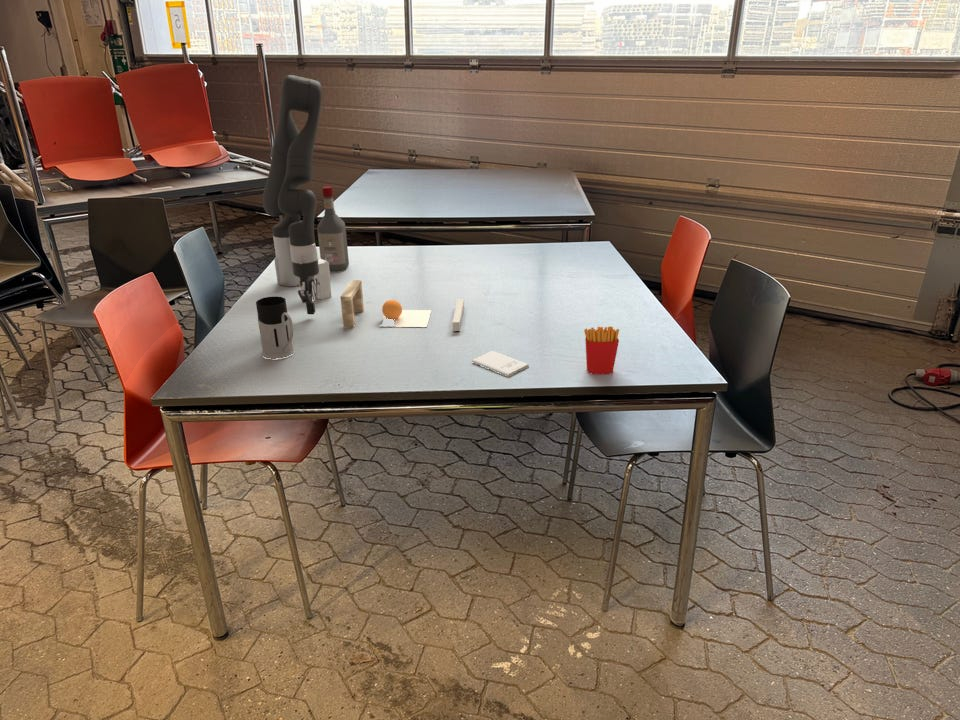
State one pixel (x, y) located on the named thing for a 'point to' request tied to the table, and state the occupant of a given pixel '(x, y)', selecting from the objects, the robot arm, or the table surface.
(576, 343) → the table surface
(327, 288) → the skincare box
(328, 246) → the liquor
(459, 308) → the wall
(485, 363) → the external hard drive
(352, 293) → the bridge
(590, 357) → the french fries
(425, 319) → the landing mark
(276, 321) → the glass holder
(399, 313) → the ball
